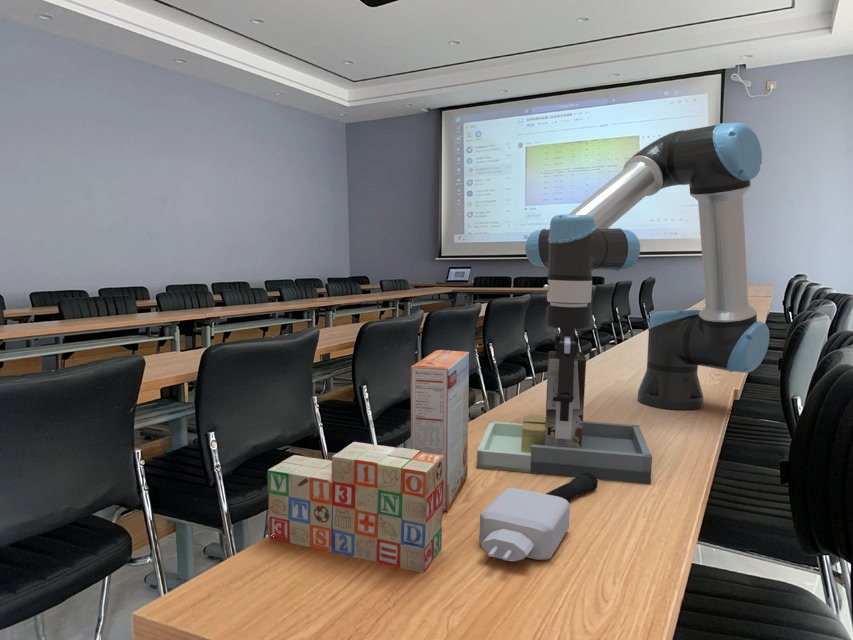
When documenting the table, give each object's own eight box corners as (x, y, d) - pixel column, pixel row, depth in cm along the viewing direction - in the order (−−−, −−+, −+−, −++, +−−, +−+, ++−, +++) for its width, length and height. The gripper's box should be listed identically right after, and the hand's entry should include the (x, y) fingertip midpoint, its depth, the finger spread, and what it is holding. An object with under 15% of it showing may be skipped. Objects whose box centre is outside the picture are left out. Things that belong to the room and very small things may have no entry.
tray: (535, 439, 120) (536, 425, 119) (530, 472, 102) (530, 455, 101) (489, 436, 121) (490, 421, 121) (476, 467, 104) (477, 450, 103)
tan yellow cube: (544, 446, 109) (545, 424, 109) (544, 453, 106) (545, 430, 105) (522, 444, 110) (522, 422, 110) (521, 451, 106) (522, 429, 106)
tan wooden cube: (545, 437, 114) (546, 416, 114) (544, 444, 110) (545, 422, 110) (524, 436, 115) (524, 415, 115) (522, 442, 111) (522, 421, 111)
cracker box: (432, 473, 101) (435, 348, 98) (468, 478, 99) (471, 350, 97) (407, 507, 87) (409, 363, 85) (448, 513, 86) (451, 366, 83)
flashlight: (597, 493, 95) (598, 474, 94) (536, 525, 83) (537, 504, 83) (580, 487, 97) (581, 469, 96) (518, 518, 85) (519, 497, 85)
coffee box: (582, 453, 104) (587, 360, 102) (543, 449, 105) (547, 358, 103) (580, 436, 113) (584, 351, 111) (545, 434, 114) (548, 349, 112)
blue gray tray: (637, 448, 115) (638, 425, 115) (650, 484, 98) (652, 457, 97) (535, 439, 120) (536, 417, 119) (530, 472, 102) (531, 446, 101)
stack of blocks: (267, 540, 77) (265, 445, 76) (294, 520, 83) (293, 432, 82) (425, 574, 70) (426, 470, 68) (443, 549, 75) (445, 453, 74)
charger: (459, 567, 71) (502, 518, 85) (535, 588, 67) (568, 533, 81) (460, 529, 71) (503, 485, 84) (537, 547, 67) (570, 498, 80)
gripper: (547, 299, 118) (543, 413, 120) (544, 309, 97) (539, 447, 99) (588, 300, 116) (582, 415, 119) (593, 311, 95) (587, 451, 98)
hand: (563, 430), depth 109 cm, fingers closed on coffee box, 9 cm apart
